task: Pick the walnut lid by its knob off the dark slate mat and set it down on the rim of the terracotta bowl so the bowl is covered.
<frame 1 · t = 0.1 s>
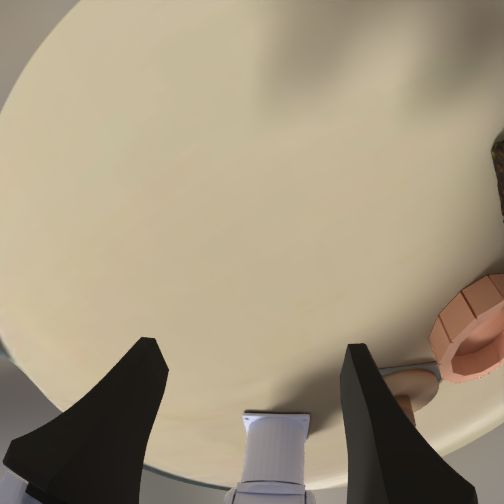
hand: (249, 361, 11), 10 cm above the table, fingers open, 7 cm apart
mat: (395, 391, 28), on the table
bowl: (478, 320, 22), on the table
lid: (395, 394, 28), resting on mat
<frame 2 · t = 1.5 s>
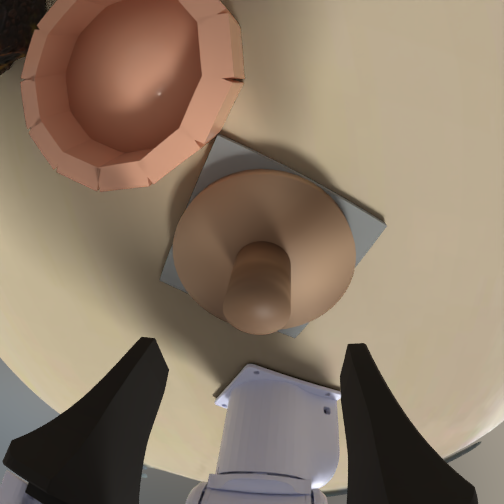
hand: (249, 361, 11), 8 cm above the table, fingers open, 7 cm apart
mat: (264, 251, 17), on the table
bowl: (136, 71, 12), on the table
lid: (264, 255, 17), resting on mat
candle: (4, 16, 9), on the table
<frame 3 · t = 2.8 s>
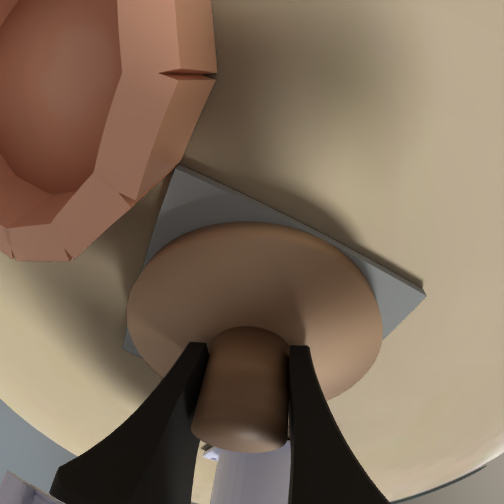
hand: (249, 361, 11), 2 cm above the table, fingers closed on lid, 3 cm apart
mat: (254, 327, 12), on the table
bowl: (61, 73, 7), on the table
lid: (253, 334, 12), resting on mat, touching gripper
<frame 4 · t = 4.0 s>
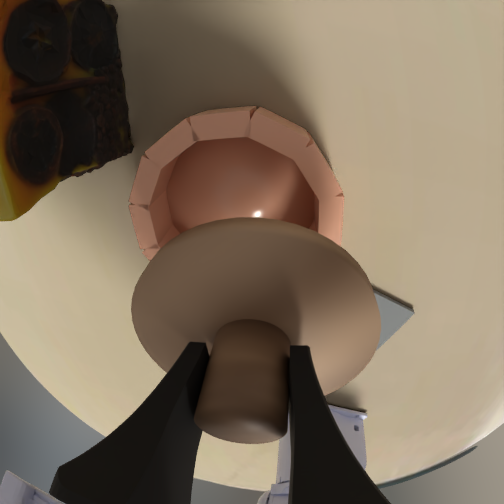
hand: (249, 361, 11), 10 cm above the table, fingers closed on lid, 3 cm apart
mat: (328, 330, 23), on the table
bowl: (240, 200, 18), on the table
lid: (255, 327, 12), point 8 cm above the table, touching gripper
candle: (66, 93, 15), on the table
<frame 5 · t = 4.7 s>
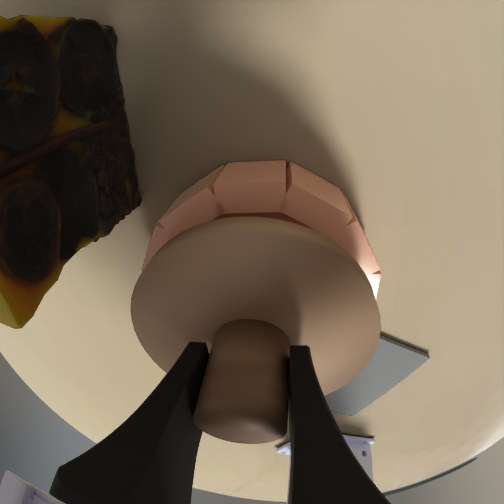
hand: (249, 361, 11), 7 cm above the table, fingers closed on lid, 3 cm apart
mat: (344, 375, 21), on the table
bowl: (263, 260, 16), on the table
lid: (254, 327, 12), point 5 cm above the table, touching gripper
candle: (60, 130, 14), on the table
when the fingers open (5 cm above the table, at t = 5.3 s): lid stays where it is, resting on bowl.
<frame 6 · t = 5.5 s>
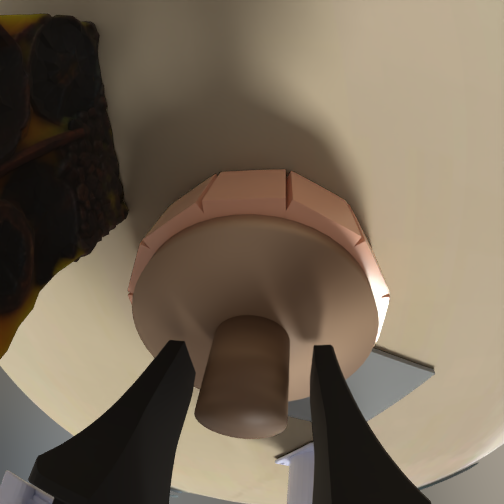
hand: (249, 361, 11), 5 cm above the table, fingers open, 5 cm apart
mat: (346, 391, 20), on the table
bowl: (260, 277, 15), on the table
lid: (254, 324, 12), point 3 cm above the table, touching bowl
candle: (42, 136, 12), on the table
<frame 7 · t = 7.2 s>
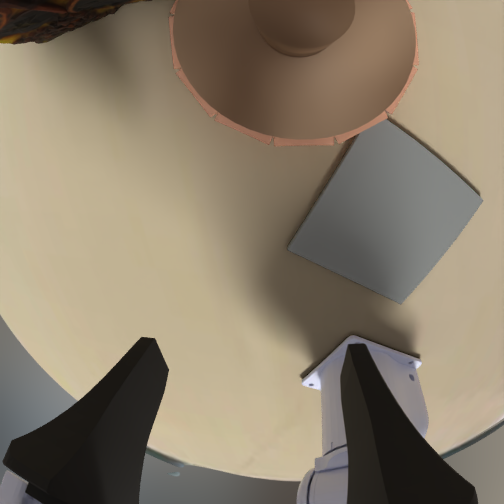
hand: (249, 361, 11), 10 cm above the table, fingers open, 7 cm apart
mat: (392, 220, 17), on the table
bowl: (294, 37, 12), on the table
lid: (296, 28, 10), point 3 cm above the table, touching bowl
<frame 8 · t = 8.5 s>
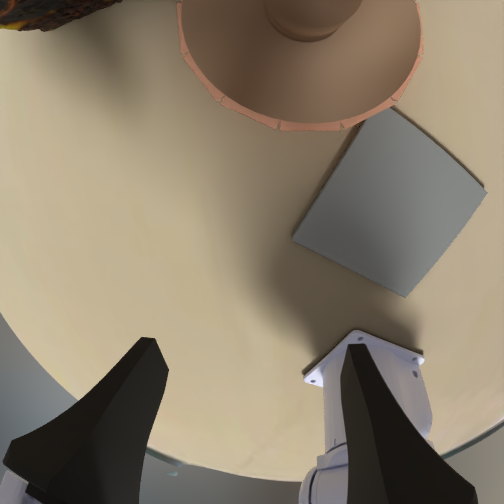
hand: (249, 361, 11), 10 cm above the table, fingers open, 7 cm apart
mat: (397, 211, 17), on the table
bowl: (300, 27, 12), on the table
lid: (303, 15, 10), point 3 cm above the table, touching bowl
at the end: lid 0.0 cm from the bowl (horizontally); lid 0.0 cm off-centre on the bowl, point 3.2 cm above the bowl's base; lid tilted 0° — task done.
